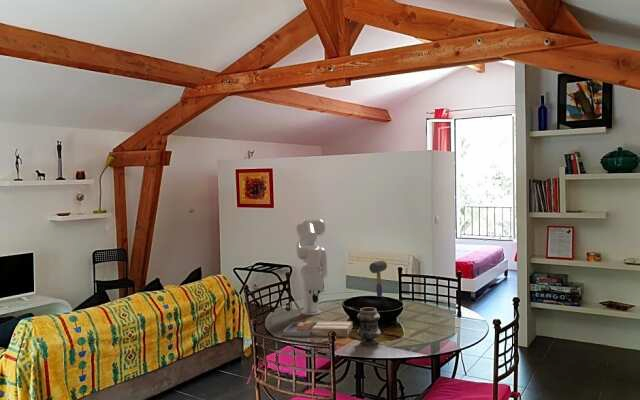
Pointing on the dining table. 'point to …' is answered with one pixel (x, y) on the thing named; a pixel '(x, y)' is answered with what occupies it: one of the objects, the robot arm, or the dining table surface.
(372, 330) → the apothecary jar
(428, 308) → the dining table surface
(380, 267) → the rubber mallet
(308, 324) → the tile
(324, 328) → the cream slotted tray
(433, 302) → the dining table surface
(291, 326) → the tray
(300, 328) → the tile
